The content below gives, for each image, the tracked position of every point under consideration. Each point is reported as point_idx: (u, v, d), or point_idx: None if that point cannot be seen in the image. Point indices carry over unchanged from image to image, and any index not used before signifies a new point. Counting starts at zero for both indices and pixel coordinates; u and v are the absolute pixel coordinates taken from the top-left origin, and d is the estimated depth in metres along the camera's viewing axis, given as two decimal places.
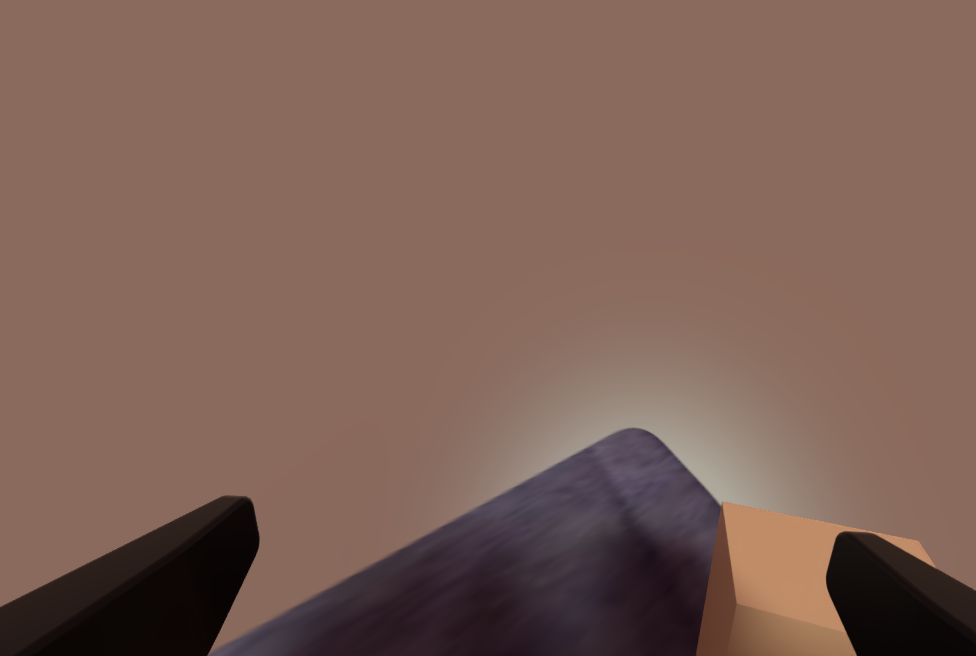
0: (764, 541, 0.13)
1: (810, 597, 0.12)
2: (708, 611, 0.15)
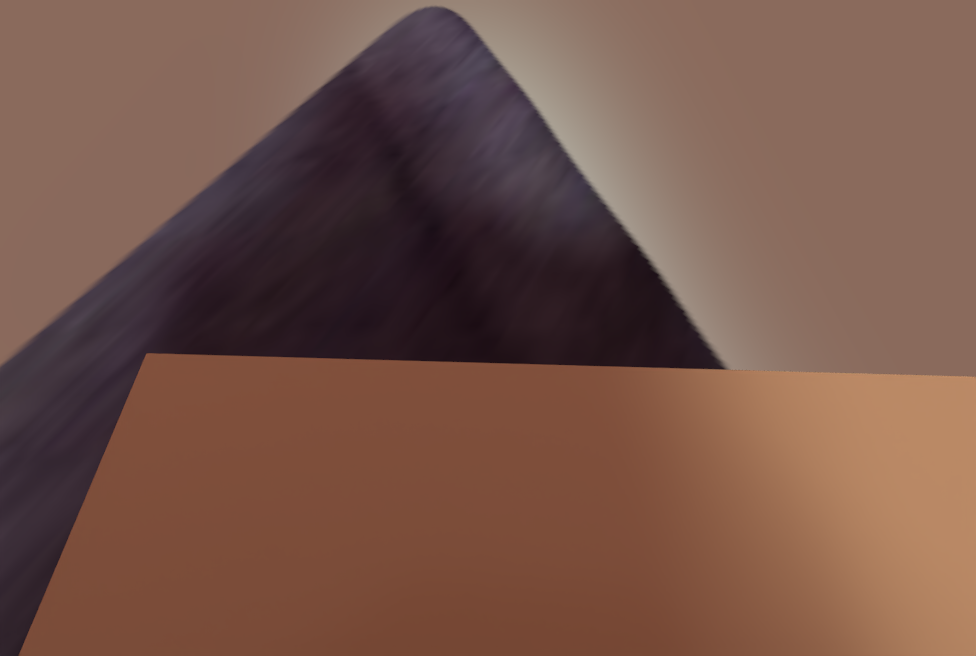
0: (210, 629, 0.02)
1: None
2: None
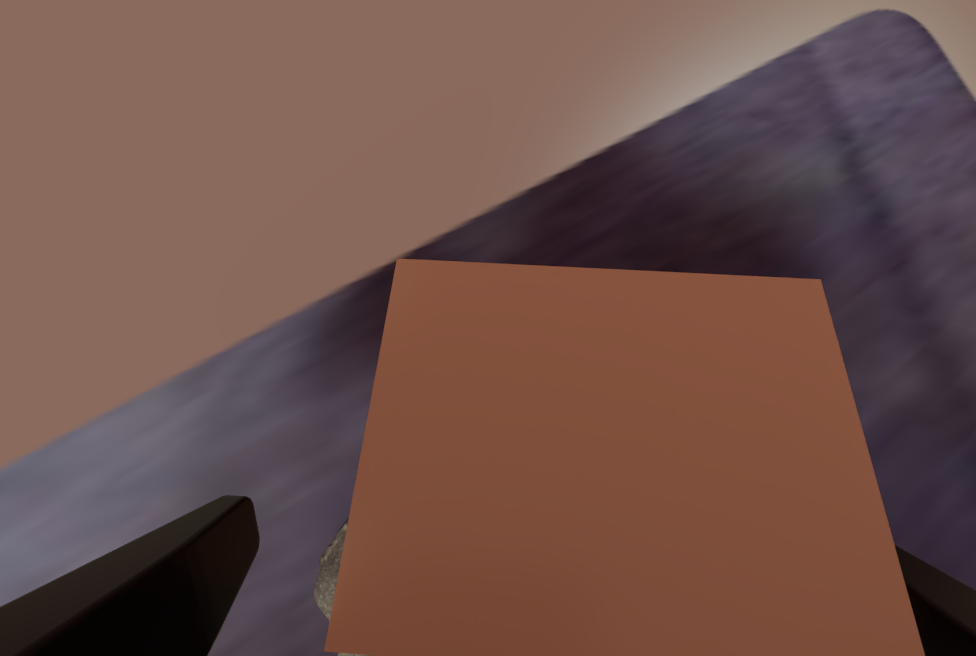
0: (464, 377, 0.05)
1: (528, 562, 0.04)
2: None
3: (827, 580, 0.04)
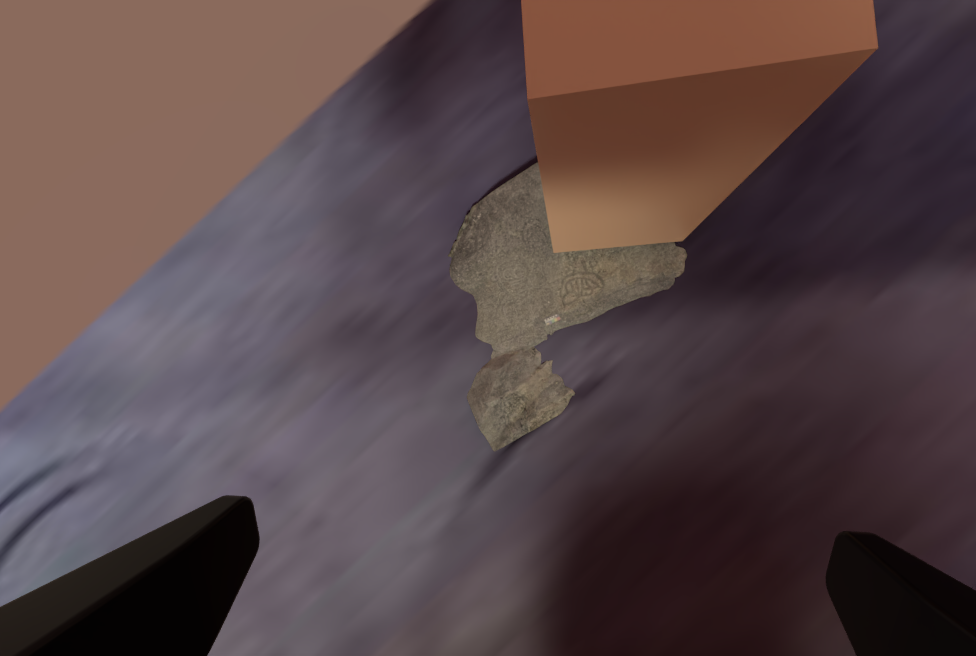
0: None
1: (634, 33, 0.07)
2: None
3: (820, 0, 0.07)
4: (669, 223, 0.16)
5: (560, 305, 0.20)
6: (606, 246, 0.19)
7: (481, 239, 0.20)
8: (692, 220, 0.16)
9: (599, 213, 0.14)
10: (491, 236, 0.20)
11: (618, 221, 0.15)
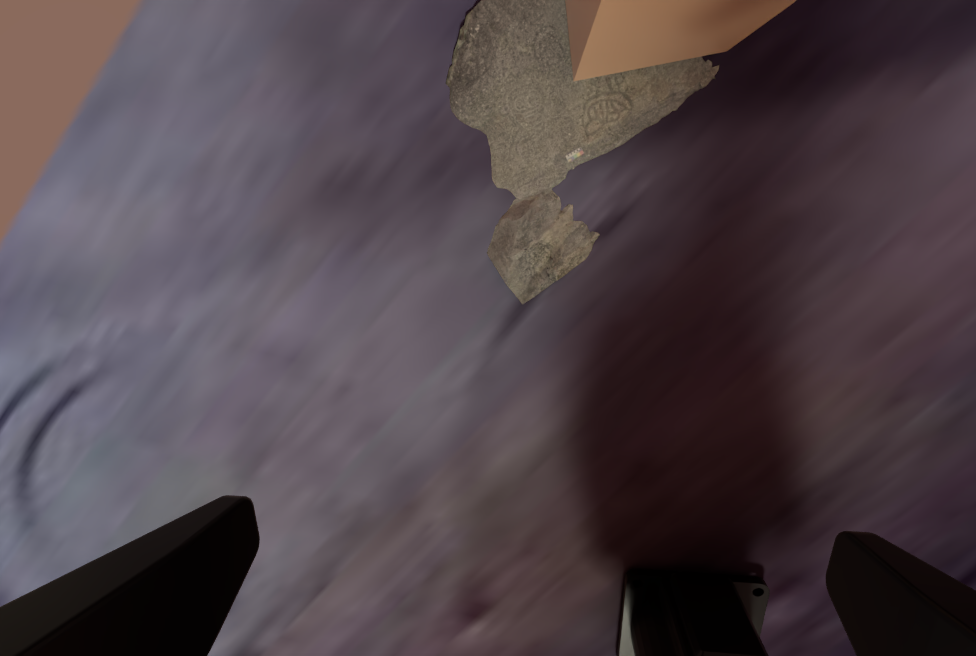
0: None
1: None
2: None
3: None
4: (727, 28, 0.13)
5: (583, 136, 0.17)
6: (637, 66, 0.16)
7: (484, 60, 0.17)
8: (756, 22, 0.13)
9: (655, 22, 0.11)
10: (496, 55, 0.17)
11: (670, 32, 0.12)
